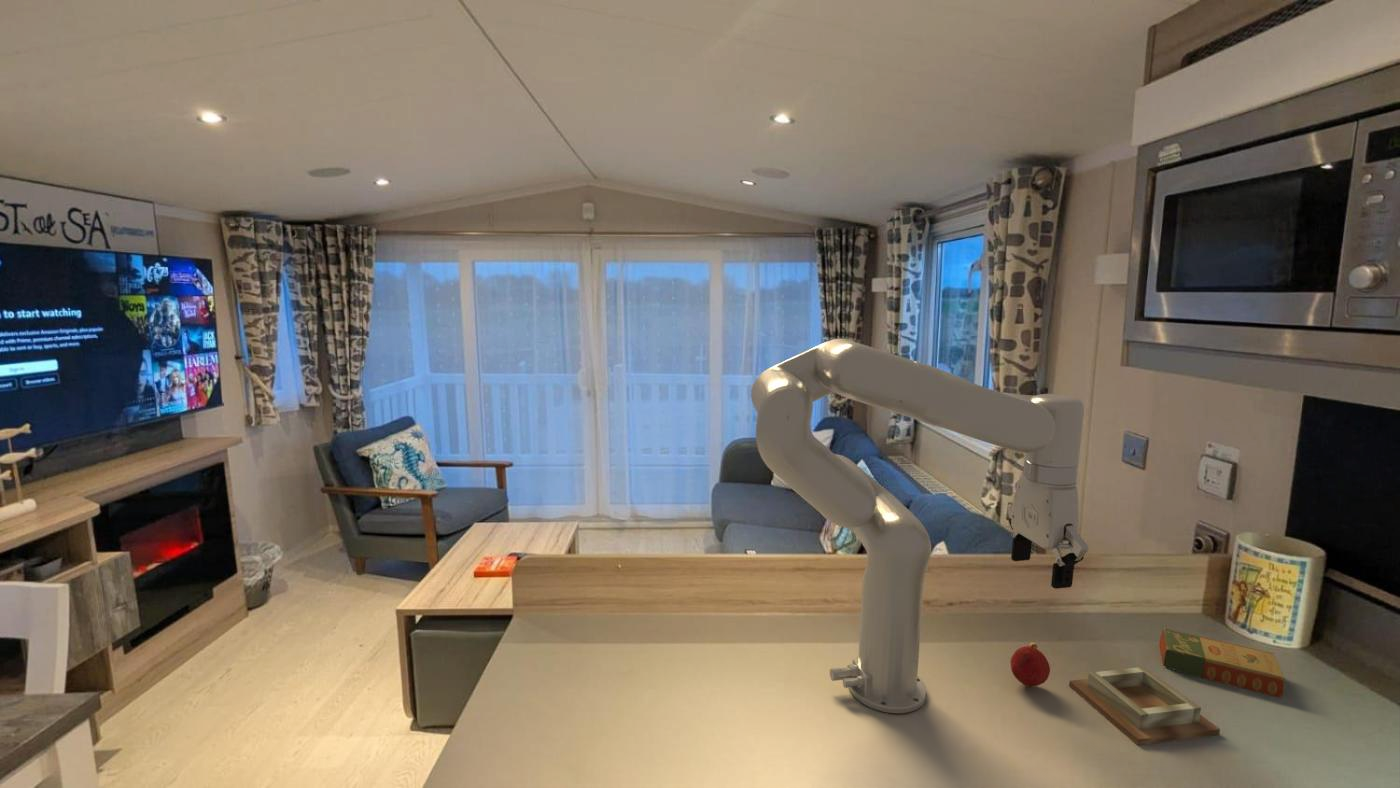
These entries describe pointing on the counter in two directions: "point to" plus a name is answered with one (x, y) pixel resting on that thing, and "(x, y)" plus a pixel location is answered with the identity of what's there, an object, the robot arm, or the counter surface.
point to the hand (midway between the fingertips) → (1040, 573)
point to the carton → (1222, 662)
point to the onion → (1030, 666)
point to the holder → (1143, 706)
